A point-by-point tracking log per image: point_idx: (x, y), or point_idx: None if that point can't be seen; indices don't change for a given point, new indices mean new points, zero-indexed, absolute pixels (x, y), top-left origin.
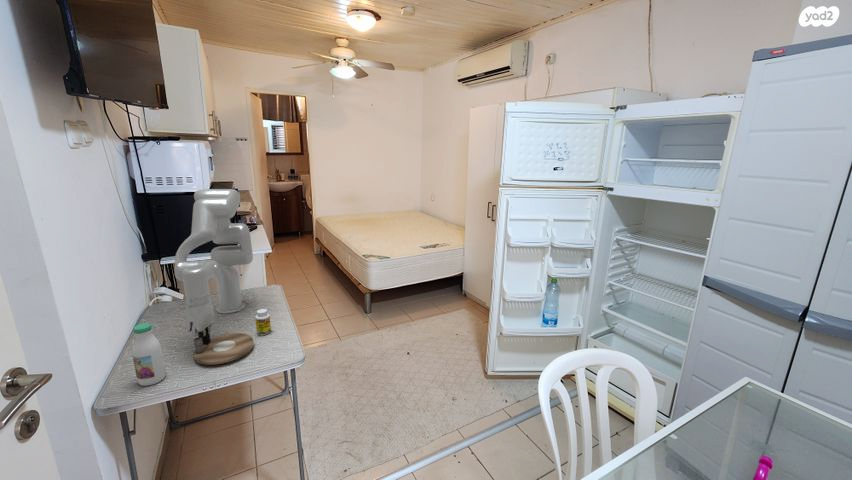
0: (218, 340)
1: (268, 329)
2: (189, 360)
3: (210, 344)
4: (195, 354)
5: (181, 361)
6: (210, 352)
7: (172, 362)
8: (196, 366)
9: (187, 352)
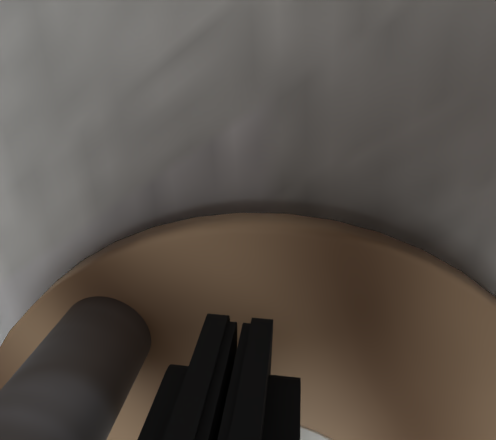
0: (398, 407)
1: None
2: (89, 189)
3: (294, 363)
4: (51, 313)
5: (52, 110)
6: (125, 432)
7: (6, 6)
8: (20, 311)
9: (246, 43)
